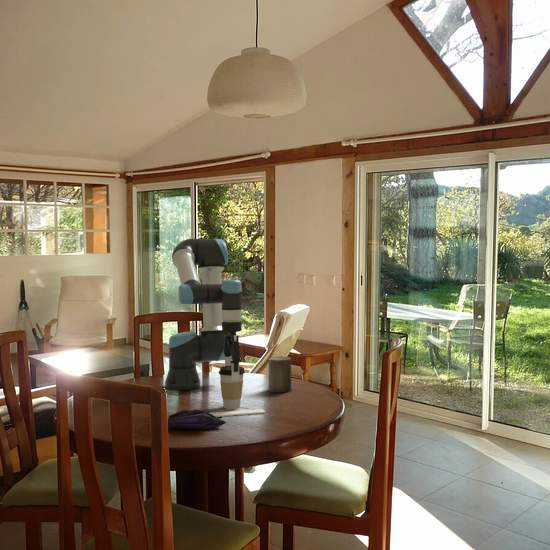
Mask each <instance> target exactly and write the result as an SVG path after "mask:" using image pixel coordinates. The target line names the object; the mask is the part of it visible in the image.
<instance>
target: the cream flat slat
mask: <svg viewBox="0 0 550 550" xmlns="http://www.w3.org/2000/svg"><path fill="white" fill-rule="evenodd" d="M209 413H210V414H212V415H214V416H215V417H216V418H218V417H220V416H223V417H234V415H237V416H247V415H248V414H249V415H250V414H251V415H259V414H260V415H264V414H263V413H265V414H266V411H265V410H264V409H263V408H260V409H246V410H245V409H244V410H231V411H217V412H209Z"/></svg>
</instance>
